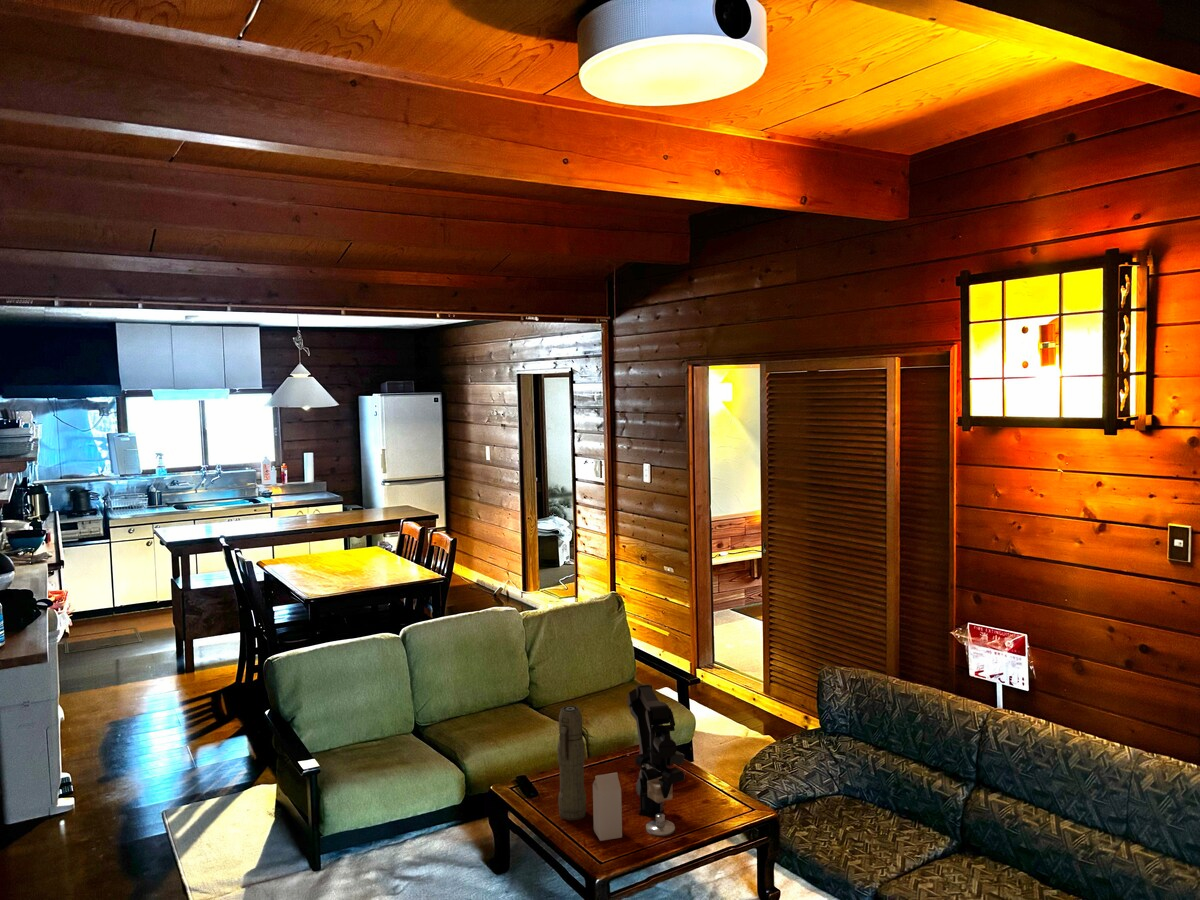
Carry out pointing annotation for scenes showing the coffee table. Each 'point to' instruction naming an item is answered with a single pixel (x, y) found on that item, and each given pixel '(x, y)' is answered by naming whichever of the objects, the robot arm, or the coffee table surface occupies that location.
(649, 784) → the beige wooden cube
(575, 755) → the thermos
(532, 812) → the coffee table surface
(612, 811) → the milk carton
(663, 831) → the post stand
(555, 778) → the coffee table surface
